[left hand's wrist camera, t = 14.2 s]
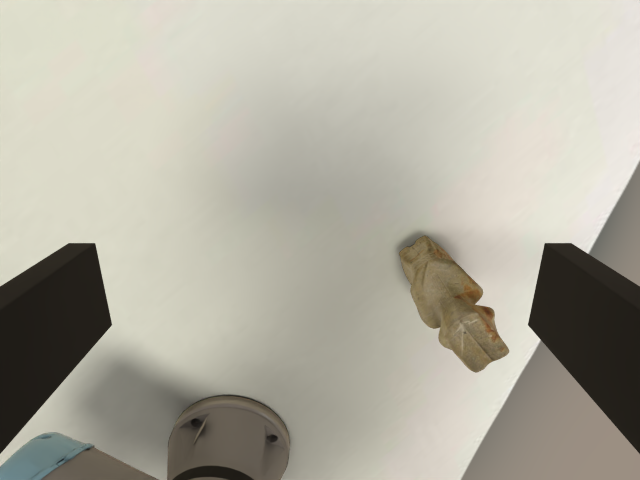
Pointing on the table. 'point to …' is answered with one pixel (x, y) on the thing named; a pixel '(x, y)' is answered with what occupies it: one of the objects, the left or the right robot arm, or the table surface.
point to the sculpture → (452, 304)
